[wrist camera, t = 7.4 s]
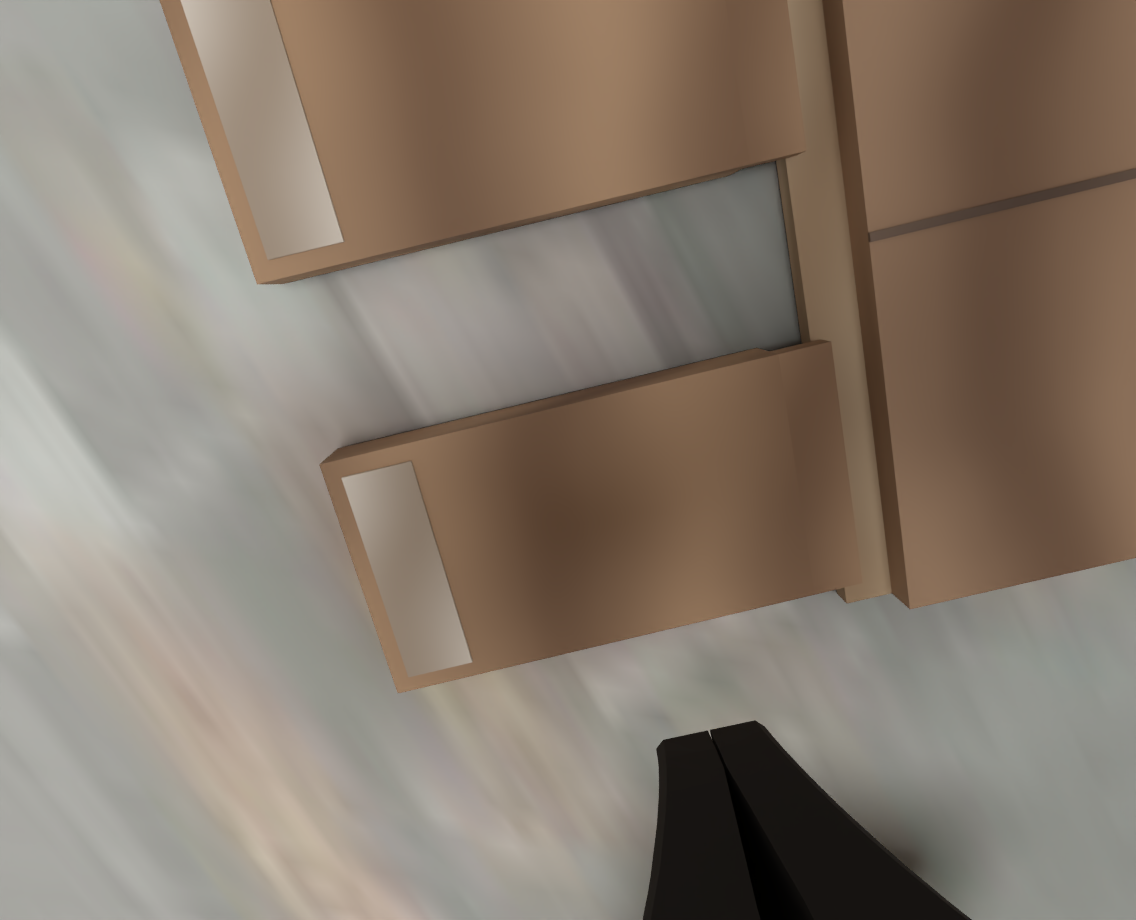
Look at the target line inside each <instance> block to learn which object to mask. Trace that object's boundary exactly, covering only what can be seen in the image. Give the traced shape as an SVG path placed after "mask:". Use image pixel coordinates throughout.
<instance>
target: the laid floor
mask: <svg viewBox="0 0 1136 920" xmlns="http://www.w3.org/2000/svg"><path fill="white" fill-rule="evenodd" d="M787 3H788V10H789V18H790V26H791V34H792V41H793V49H794V57H795V64H796V72H797V80H798V88H799V95H800V103H801V111H802V118H803V126H804V134H805V142H806V149H807V151H805V152H803V153H801V154H799V155H797V156H793V157H789V158H785V159H781V160H777V161H776V165H777V172H778V179H779V186H780V193H781V200H782V207H783V214H784V221H785V228H786V235H787V242H788V250H789V257H790V264H791V271H792V278H793V285H794V292H795V299H796V306H797V313H798V320H799V327H800V335H801V342H802V344H803V343H807V342H811V341H815V340H819V339H821V340H826V341H831V343H832V351H833V359H834V367H835V374H836V382H837V390H838V397H839V405H840V413H841V421H842V428H843V436H844V444H845V451H846V459H847V467H848V475H849V482H850V490H851V498H852V505H853V513H854V521H855V528H856V536H857V544H858V552H859V559H860V567H861V575H862V582H863V583H861V584H857V585H853V586H848V587H844V588H840V589H836V590H837V594H838V595H839V596H840V597H841V598H842V599H843V600H844V601H845V602H846V603H851V602H855V601H860V600H864V599H868V598H873V597H877V596H881V595H886V594H890V593H892V594H893V595H895V596H896V597H897V598H898V599H899V600H900V601H901V602H902V603H904V604H905V605H906V606H907V607H908V608H909V609H913V608H918V607H922V606H927V605H931V604H935V603H940V602H944V601H949V600H953V599H957V598H962V597H966V596H970V595H975V594H979V593H984V592H988V591H992V590H997V589H1001V588H1006V587H1010V586H1014V585H1019V584H1023V583H1027V582H1032V581H1036V580H1041V579H1045V578H1049V577H1054V576H1058V575H1063V574H1067V573H1071V572H1076V571H1080V570H1084V569H1089V568H1093V567H1098V566H1102V565H1106V564H1111V563H1115V562H1120V561H1124V560H1128V559H1133V558H1136V0H787Z"/></svg>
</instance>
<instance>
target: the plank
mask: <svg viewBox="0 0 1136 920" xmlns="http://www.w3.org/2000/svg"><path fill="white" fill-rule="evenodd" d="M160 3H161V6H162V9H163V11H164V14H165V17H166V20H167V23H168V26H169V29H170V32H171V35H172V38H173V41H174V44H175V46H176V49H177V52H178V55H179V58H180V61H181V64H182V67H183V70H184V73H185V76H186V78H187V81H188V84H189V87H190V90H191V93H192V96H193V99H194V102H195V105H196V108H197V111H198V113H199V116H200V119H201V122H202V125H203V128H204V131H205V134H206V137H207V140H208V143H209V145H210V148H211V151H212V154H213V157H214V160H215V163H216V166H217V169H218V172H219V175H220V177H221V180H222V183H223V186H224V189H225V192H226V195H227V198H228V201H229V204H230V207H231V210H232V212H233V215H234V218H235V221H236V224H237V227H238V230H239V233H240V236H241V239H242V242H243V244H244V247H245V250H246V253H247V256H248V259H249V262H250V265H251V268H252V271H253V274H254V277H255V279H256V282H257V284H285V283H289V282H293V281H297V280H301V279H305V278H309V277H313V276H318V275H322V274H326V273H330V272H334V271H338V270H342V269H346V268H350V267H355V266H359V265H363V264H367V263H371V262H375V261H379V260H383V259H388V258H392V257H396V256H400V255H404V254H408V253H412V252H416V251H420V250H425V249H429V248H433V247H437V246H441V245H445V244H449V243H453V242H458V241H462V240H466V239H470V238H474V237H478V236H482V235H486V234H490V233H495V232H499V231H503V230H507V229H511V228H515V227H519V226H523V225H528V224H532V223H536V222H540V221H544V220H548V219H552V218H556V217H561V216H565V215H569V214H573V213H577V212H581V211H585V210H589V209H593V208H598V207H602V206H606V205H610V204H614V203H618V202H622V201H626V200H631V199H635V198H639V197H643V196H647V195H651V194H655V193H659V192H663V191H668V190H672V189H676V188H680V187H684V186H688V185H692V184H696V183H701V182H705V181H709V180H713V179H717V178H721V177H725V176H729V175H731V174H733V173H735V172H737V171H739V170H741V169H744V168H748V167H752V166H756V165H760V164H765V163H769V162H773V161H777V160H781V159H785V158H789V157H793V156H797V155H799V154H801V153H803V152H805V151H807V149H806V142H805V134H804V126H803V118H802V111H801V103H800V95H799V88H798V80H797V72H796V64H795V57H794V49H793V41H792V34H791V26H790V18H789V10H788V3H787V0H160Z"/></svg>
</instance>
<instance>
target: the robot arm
mask: <svg viewBox="0 0 1136 920" xmlns="http://www.w3.org/2000/svg"><path fill="white" fill-rule="evenodd" d="M710 732H711V737H712V739H711V737H710V735H709V733H708V731H703V732H698V733H694V734H689V735H684V736H680V737H675V738H670V739H665V740H663V741H662V742H661V743H660V745H659V746H658V747H657V749H656V750H657V756H658V764H659V804H658V819H657V830H656V838H655V846H654V854H653V862H652V871H651V878H650V884H649V890H648V895H647V901H646V906H645V911H644V916H643V920H971V919H970V918H969V917H967V916H966V915H965V914H964V913H962V912H961V911H960V910H959V909H957V908H956V907H955V906H954V905H952V904H951V903H950V902H949V901H947V900H946V899H945V898H944V897H942V896H941V895H940V894H939V893H938V892H936V891H935V890H934V889H933V888H932V887H930V886H929V885H928V884H927V883H926V882H924V881H923V880H922V879H921V878H920V877H919V876H917V875H916V874H915V873H914V872H913V871H911V870H910V869H909V868H908V867H907V866H905V865H904V864H903V863H902V862H901V861H900V860H898V859H897V858H896V857H895V856H894V855H893V854H892V853H890V852H889V851H888V850H887V849H886V848H885V847H884V846H883V845H881V844H880V843H879V842H878V841H877V840H876V839H875V838H874V837H873V836H872V835H870V834H869V833H868V832H867V831H866V830H865V829H864V828H863V827H862V826H861V825H860V824H859V823H857V822H856V821H855V820H854V819H853V818H852V817H851V816H850V815H849V814H848V813H847V812H846V811H845V810H843V809H842V808H841V807H840V806H839V805H838V804H837V803H836V802H835V801H834V800H833V799H832V798H831V797H830V796H829V795H828V794H827V793H826V792H825V791H824V790H823V789H822V788H821V787H820V786H819V785H818V784H817V783H816V782H815V781H814V780H813V779H812V778H811V777H810V776H809V775H808V774H807V773H806V772H805V771H804V770H803V769H802V768H801V767H800V766H799V765H798V764H797V763H796V762H795V760H794V759H793V758H792V757H791V756H790V755H789V754H788V753H787V752H786V751H785V750H784V749H783V747H782V746H781V745H780V744H779V743H778V742H777V741H776V740H775V738H774V737H773V736H772V735H771V734H770V733H769V731H768V730H767V729H766V728H765V726H763V725H761V724H760V723H758V722H757V721H750V722H746V723H741V724H736V725H731V726H727V727H722V728H717V729H713V730H710Z"/></svg>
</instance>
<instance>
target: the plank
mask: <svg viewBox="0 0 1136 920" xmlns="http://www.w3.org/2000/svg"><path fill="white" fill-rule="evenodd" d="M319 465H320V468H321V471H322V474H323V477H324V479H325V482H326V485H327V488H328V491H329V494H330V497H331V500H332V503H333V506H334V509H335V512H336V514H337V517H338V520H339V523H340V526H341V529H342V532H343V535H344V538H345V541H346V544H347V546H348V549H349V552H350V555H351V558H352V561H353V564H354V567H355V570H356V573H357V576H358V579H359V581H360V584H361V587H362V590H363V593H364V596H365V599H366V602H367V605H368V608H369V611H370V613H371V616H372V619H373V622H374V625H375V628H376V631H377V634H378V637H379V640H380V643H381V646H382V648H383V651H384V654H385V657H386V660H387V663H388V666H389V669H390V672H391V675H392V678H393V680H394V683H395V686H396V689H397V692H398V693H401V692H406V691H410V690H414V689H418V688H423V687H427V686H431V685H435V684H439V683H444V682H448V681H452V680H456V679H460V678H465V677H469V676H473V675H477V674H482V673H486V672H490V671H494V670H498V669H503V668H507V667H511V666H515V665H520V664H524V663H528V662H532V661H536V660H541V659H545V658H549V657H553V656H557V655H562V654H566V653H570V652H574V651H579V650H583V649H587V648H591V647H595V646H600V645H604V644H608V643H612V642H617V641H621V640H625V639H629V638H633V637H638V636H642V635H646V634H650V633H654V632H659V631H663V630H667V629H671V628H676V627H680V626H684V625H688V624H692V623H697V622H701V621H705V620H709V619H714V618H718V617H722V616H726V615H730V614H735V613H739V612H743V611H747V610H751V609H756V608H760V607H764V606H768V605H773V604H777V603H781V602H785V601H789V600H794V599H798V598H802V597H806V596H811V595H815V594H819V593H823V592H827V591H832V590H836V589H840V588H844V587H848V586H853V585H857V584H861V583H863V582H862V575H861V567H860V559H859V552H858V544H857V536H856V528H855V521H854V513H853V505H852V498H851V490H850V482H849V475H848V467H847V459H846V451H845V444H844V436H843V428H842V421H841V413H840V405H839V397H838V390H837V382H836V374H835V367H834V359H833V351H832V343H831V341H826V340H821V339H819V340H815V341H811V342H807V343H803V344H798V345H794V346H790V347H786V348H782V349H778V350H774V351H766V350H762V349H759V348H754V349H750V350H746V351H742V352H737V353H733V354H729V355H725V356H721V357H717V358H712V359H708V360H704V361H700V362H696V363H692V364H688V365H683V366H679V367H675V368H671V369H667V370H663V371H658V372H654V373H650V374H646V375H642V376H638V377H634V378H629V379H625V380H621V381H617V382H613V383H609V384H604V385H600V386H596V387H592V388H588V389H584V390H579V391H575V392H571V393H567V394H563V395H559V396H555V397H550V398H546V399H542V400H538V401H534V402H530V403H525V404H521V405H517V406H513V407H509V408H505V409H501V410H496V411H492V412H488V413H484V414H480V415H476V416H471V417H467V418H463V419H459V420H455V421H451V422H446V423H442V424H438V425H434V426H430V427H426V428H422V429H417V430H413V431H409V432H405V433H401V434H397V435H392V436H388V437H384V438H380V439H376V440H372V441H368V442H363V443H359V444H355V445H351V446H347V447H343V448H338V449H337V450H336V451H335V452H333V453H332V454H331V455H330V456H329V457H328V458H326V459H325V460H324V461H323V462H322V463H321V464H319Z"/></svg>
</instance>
